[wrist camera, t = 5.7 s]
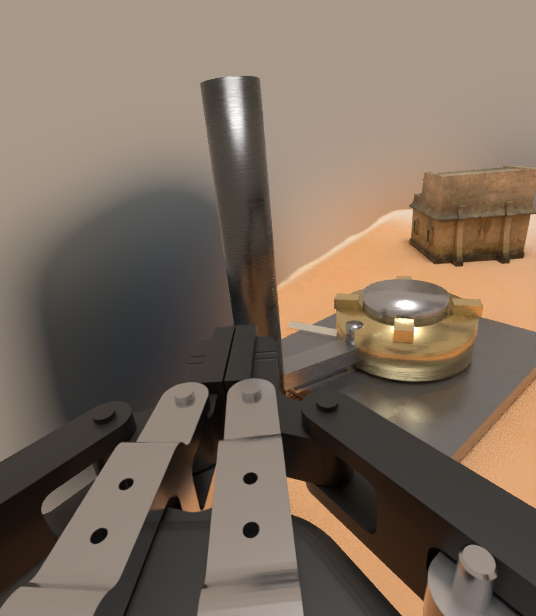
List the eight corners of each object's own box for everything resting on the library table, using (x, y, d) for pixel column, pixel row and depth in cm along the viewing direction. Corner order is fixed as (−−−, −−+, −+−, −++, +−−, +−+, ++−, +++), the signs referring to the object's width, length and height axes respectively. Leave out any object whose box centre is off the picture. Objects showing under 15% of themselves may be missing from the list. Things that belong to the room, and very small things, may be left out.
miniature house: (548, 261, 47) (570, 167, 43) (436, 268, 49) (445, 177, 44) (490, 235, 61) (502, 161, 56) (404, 241, 62) (408, 169, 58)
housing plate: (370, 297, 41) (370, 285, 41) (558, 352, 29) (562, 336, 28) (232, 363, 31) (230, 349, 31) (427, 497, 18) (430, 476, 18)
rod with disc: (401, 307, 35) (416, 90, 28) (504, 352, 27) (563, 58, 19) (220, 367, 28) (176, 99, 21) (281, 453, 20) (243, 55, 12)
